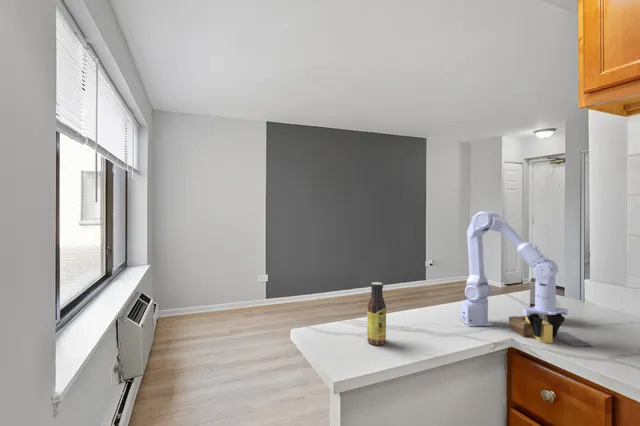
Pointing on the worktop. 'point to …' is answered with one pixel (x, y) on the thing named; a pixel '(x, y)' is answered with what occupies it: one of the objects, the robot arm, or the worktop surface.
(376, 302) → the sauce bottle
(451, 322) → the worktop surface
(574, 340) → the mat
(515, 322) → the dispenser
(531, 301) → the coffee box
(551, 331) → the yellow bar
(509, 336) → the worktop surface
